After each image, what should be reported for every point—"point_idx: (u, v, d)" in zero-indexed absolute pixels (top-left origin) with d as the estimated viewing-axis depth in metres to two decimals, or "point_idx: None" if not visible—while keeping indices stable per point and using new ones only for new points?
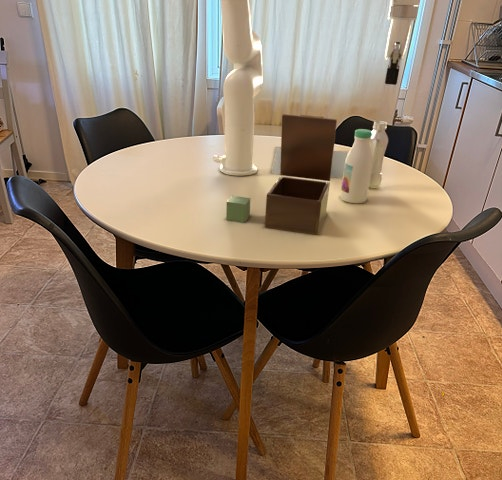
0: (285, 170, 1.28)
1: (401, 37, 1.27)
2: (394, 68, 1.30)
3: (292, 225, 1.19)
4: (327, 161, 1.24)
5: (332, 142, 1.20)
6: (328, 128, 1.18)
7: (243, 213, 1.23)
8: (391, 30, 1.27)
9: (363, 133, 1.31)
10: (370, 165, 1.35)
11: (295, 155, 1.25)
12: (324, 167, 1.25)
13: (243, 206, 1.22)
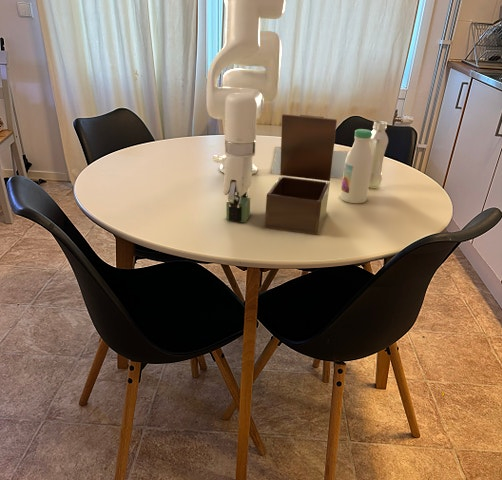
0: (285, 170, 1.28)
1: (236, 175, 1.16)
2: (235, 207, 1.21)
3: (292, 225, 1.19)
4: (327, 161, 1.24)
5: (332, 142, 1.20)
6: (328, 128, 1.18)
7: (243, 213, 1.23)
8: (225, 167, 1.16)
9: (363, 133, 1.31)
10: (370, 165, 1.35)
11: (295, 155, 1.25)
12: (324, 167, 1.25)
13: (243, 206, 1.22)
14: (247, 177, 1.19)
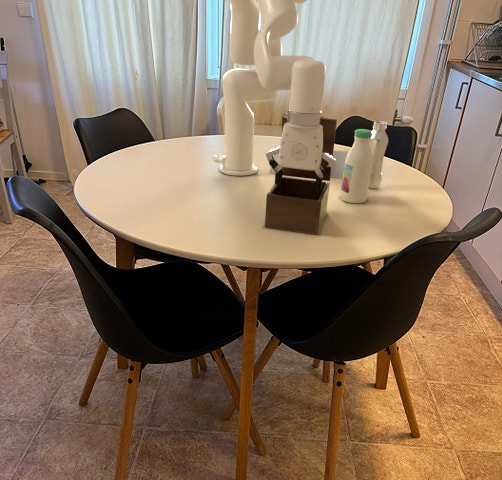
0: (285, 170, 1.28)
1: (322, 144, 1.14)
2: None
3: (292, 225, 1.19)
4: None
5: (332, 142, 1.20)
6: (328, 128, 1.18)
7: None
8: (319, 140, 1.11)
9: (363, 133, 1.31)
10: (370, 165, 1.35)
11: None
12: (324, 167, 1.25)
13: None
14: None
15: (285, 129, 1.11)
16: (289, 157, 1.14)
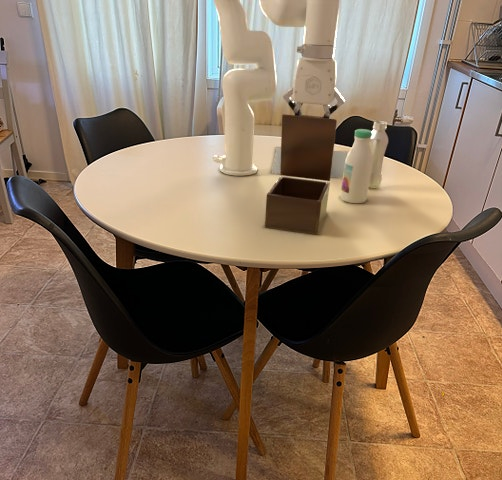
0: (285, 170, 1.28)
1: None
2: None
3: (292, 225, 1.19)
4: (327, 161, 1.24)
5: (332, 142, 1.20)
6: (328, 128, 1.18)
7: None
8: (333, 73, 1.14)
9: (363, 133, 1.31)
10: (370, 165, 1.35)
11: (295, 155, 1.25)
12: (324, 167, 1.25)
13: None
14: None
15: (299, 63, 1.15)
16: (303, 92, 1.17)
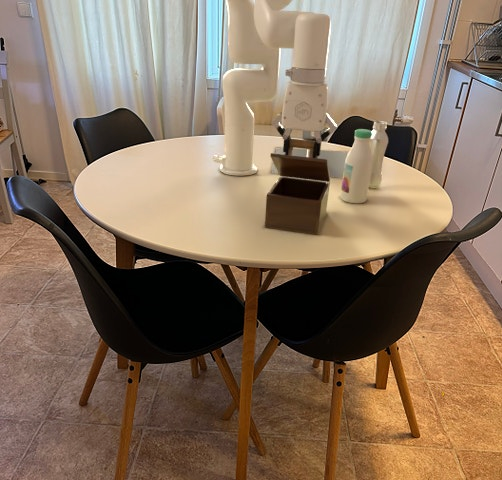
0: (284, 175, 1.28)
1: (327, 103, 1.09)
2: None
3: (292, 225, 1.19)
4: (324, 175, 1.22)
5: (326, 169, 1.17)
6: (319, 164, 1.14)
7: None
8: (324, 98, 1.06)
9: (363, 133, 1.31)
10: (370, 165, 1.35)
11: (291, 171, 1.23)
12: (322, 177, 1.24)
13: None
14: None
15: (288, 87, 1.07)
16: (293, 117, 1.10)
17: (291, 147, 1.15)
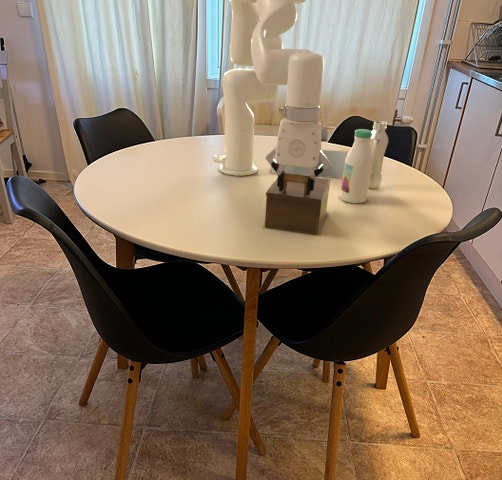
0: None
1: None
2: None
3: (292, 225, 1.19)
4: None
5: None
6: None
7: None
8: (318, 136, 1.06)
9: (363, 133, 1.31)
10: (370, 165, 1.35)
11: None
12: None
13: None
14: None
15: (282, 125, 1.07)
16: (286, 154, 1.10)
17: (285, 182, 1.16)
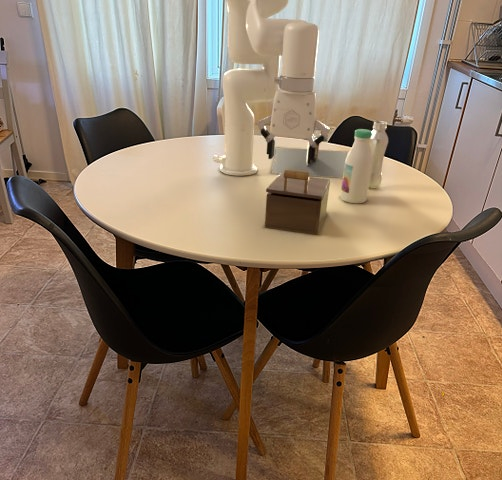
0: None
1: None
2: None
3: (292, 225, 1.19)
4: None
5: None
6: None
7: None
8: (312, 107, 1.07)
9: (363, 133, 1.31)
10: (370, 165, 1.35)
11: None
12: None
13: None
14: None
15: (277, 96, 1.08)
16: (281, 125, 1.10)
17: (286, 179, 1.15)
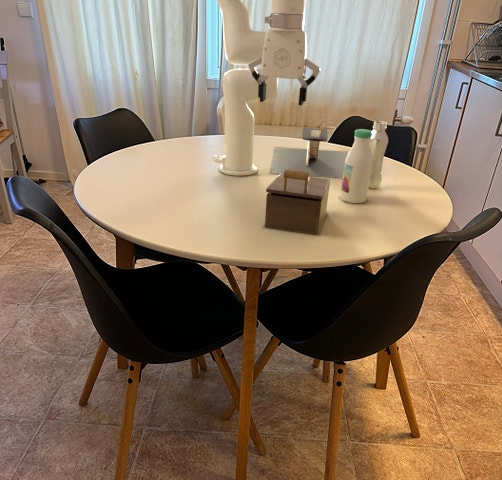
0: None
1: (306, 51, 1.11)
2: (307, 86, 1.14)
3: (292, 225, 1.19)
4: None
5: None
6: None
7: None
8: (303, 44, 1.08)
9: (363, 133, 1.31)
10: (370, 165, 1.35)
11: None
12: None
13: None
14: None
15: (267, 34, 1.09)
16: (272, 65, 1.11)
17: (286, 179, 1.15)
